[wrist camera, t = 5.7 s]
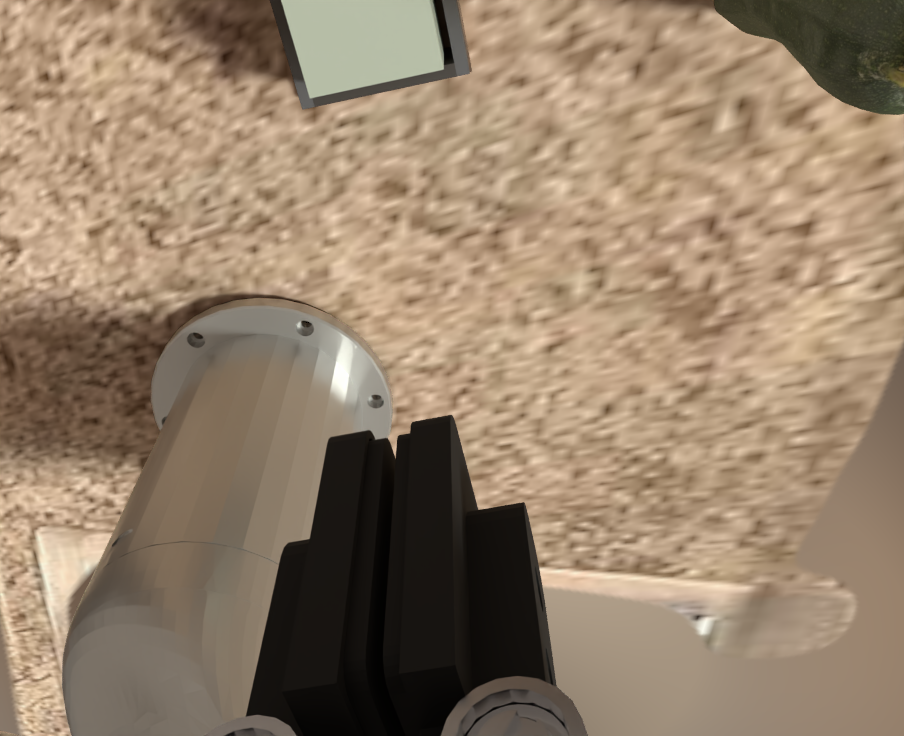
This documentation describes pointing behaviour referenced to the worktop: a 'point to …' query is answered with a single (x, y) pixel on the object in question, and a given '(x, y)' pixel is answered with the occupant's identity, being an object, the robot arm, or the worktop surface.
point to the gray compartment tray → (453, 66)
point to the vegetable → (835, 44)
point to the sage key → (363, 41)
